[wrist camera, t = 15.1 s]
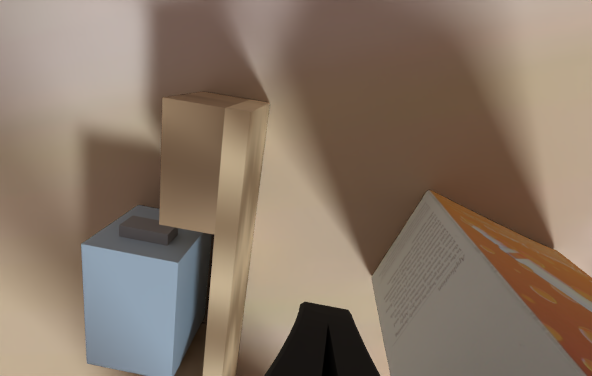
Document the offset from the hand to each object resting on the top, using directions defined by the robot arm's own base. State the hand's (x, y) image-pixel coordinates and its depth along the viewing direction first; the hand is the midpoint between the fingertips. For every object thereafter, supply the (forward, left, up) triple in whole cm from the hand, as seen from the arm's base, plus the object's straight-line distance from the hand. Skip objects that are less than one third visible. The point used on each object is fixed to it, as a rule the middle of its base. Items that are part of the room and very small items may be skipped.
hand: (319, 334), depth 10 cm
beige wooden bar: (-6, +6, -10) cm, 13 cm away
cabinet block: (-6, +9, -10) cm, 14 cm away
